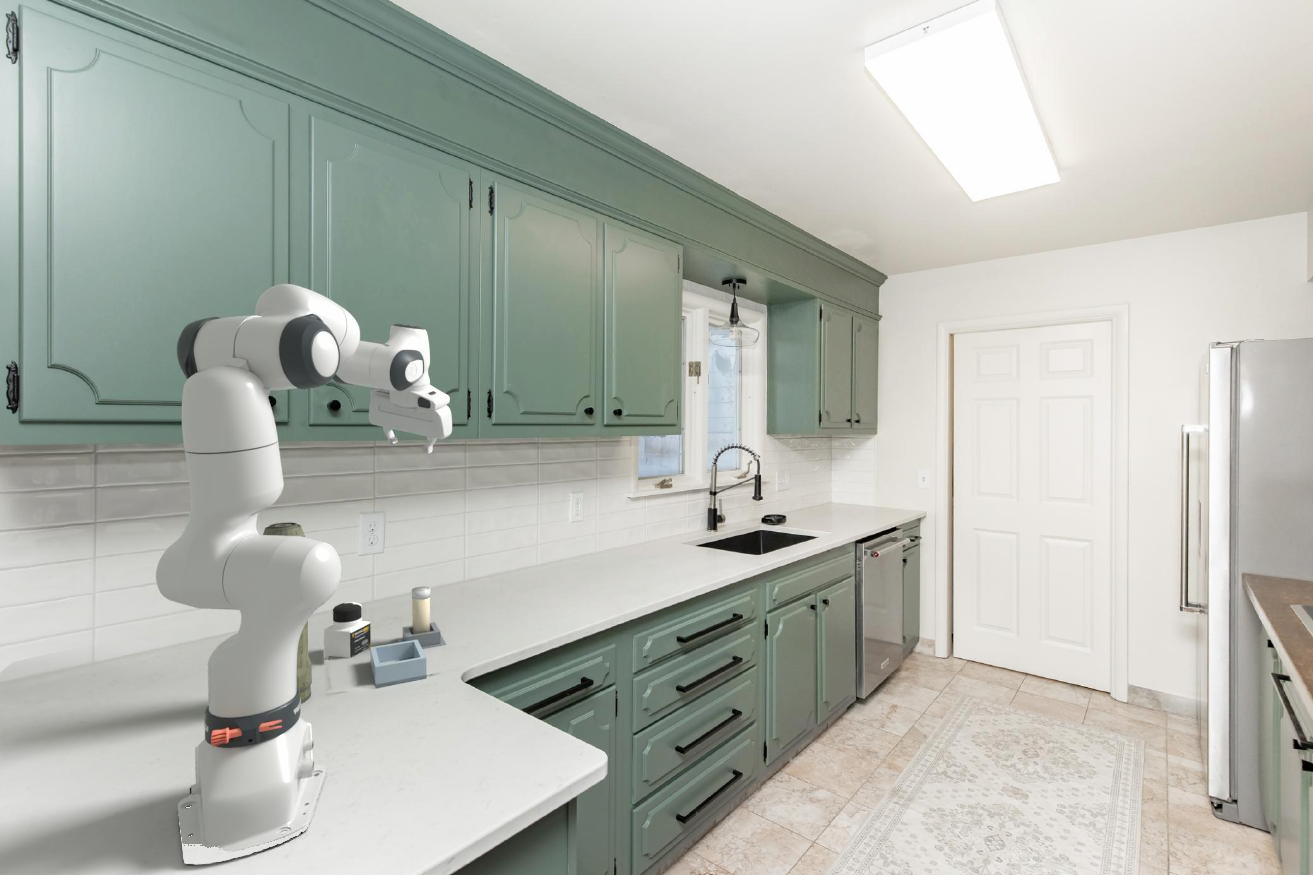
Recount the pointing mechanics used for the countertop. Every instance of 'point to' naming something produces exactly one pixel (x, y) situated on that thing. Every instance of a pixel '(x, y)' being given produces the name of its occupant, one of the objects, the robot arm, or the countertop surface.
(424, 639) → the socket block
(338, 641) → the medicine bottle
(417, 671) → the parts tray
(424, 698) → the countertop surface
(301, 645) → the thermos
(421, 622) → the fuse
